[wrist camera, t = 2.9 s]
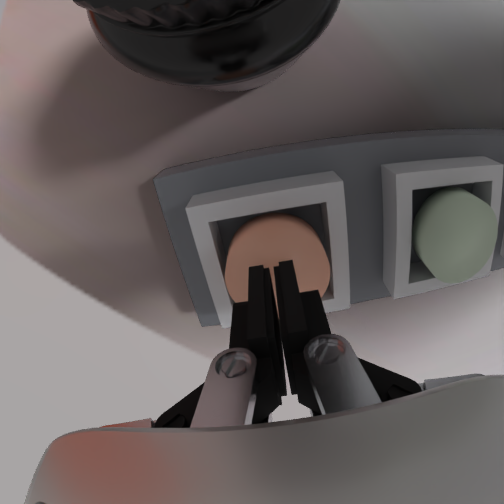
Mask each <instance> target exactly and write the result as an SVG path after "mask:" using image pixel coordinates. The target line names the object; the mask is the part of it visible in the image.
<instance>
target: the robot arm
mask: <svg viewBox="0 0 504 504" xmlns="http://www.w3.org/2000/svg"><path fill="white" fill-rule="evenodd" d="M274 276H275V285H276V295H277V304H278V311H277V306H276V301H275V295H274V290H273V285H272V279H271V274H270V269H269V267H268V268H264V266H263V265H257V266H251V267H249V274H248V301H244V302H237V303H233V308H232V320H231V332H230V344H229V349H227V350H224V351H222V352H221V353H219V354H218V355H217V356H216V357H215V358H214V359H213V361H212V363H211V365H210V368H209V371H208V374H207V377H206V380H205V382H204V383H203V384H202V385H200V386H199V387H198V388H197V389H195V390H194V391H192V392H191V393H190V394H188V395H187V396H186V397H184V398H183V399H182V400H181V401H179V402H178V403H176V404H175V405H174V406H172V407H171V408H170V409H168V410H167V411H166V412H164V413H163V414H162V415H161V416H160V417H159V418H158V419H157V420H155V421H153V420H152V419H151V418H149V419H143V420H138V421H132V422H126V423H120V424H113V425H106V426H102V427H99V428H90V429H82V430H78V431H75V432H70V433H68V434H65V435H62V436H60V437H58V438H57V439H55V440H54V441H53V442H52V443H51V444H50V445H49V446H48V448H47V449H46V451H45V452H44V454H43V456H42V458H41V460H40V462H39V464H38V467H37V469H36V471H35V473H34V476H33V479H32V482H31V484H30V487H29V490H28V493H27V496H26V499H25V503H24V504H504V375H486V376H485V375H482V374H469V375H462V376H455V377H447V378H438V379H428V380H424V383H419V384H417V383H416V382H415V381H413V380H411V379H409V378H407V377H404V376H402V375H399V374H397V373H394V372H392V371H389V370H387V369H384V368H382V367H379V366H377V365H375V364H372V363H370V362H367V361H365V360H363V359H360V358H358V357H357V356H356V354H355V352H354V351H353V349H352V347H351V345H350V343H349V342H348V341H347V340H346V339H345V338H343V337H342V336H339V335H336V334H331V331H330V328H329V324H328V321H327V317H326V314H325V310H324V307H323V303H322V300H321V297H320V293H319V290H312V291H306V292H299V287H298V283H297V278H296V273H295V269H294V264H293V260H287V261H281V262H279V266H274ZM278 314H279V317H278ZM282 345H283V348H282ZM283 350H284V356H285V361H286V366H287V372H288V377H289V383H290V388H291V394H292V395H294V394H297V395H298V401H299V403H301V404H303V405H304V406H306V407H308V408H310V413H311V417H307V418H300V419H293V420H286V421H278V422H272V412H273V411H274V410H275V409H276V408H277V407H278V406H279V405H282V400H281V396H286V395H287V390H286V379H285V369H284V359H283Z"/></svg>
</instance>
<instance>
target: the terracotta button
mask: <svg viewBox="0 0 504 504" xmlns="http://www.w3.org/2000/svg"><path fill="white" fill-rule="evenodd" d="M287 260H293V264H294V269H295V273H296V278H297V283H298V287H299V292H306V291H312V290H319V293H320V297H322V296H323V295H324V293H325V291H326V289H327V287H328V284H329V280H330V264H329V261H328V258H327V255H326V253H325V250H324V248H323V245H322V243H321V240H320V238H319V236H318V234H317V233H316V231H315V230H314V229H313V227H312V226H311V225H310V224H308V223H307V222H306V221H304V220H303V219H301V218H299V217H297V216H294V215H291V214H287V213H276V212H274V213H266V214H262V215H259V216H256V217H254V218H252V219H250V220H249V221H247V222H246V223H244V224H243V225H242V226H241V227H240V228H239V229H238V230H237V232H236V233H235V234H234V236H233V238H232V240H231V242H230V245H229V250H228V256H227V262H226V269H225V282H226V287H227V290H228V292H229V294H230V296H231V297H232V299H233V300H234V301H235V302H236V303H237V302H244V301H248V274H249V267H251V266H257V265H263V266H264V268H268V267H269V269H270V274H271V279H272V285H273V290H274V295H275V301H276V306H277V311H278V304H277V295H276V285H275V276H274V266H279V262H281V261H287ZM278 317H279V314H278Z"/></svg>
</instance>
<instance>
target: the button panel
mask: <svg viewBox="0 0 504 504" xmlns="http://www.w3.org/2000/svg"><path fill="white" fill-rule="evenodd" d="M153 181H154V185H155V188H156V192H157V195H158V198H159V202H160V205H161V208H162V212H163V215H164V218H165V221H166V225H167V228H168V231H169V234H170V237H171V240H172V243H173V246H174V249H175V252H176V255H177V258H178V261H179V264H180V267H181V270H182V273H183V276H184V279H185V282H186V285H187V288H188V290H189V293H190V296H191V299H192V302H193V304H194V307H195V310H196V313H197V315H198V318H199V321H200V323H201V326H202V327H204V326H212V325H220V324H221V326H222V328H230V327H231V320H232V308H233V303H236V302H235V301H234V300H233V299H232V297H231V296H230V294H229V292H228V290H227V287H226V282H225V269H226V262H227V256H228V250H229V245H230V242H231V240H232V238H233V236H234V234H235V233H236V232H237V230H238V229H239V228H240V227H241V226H242V225H243V224H244V223H246V222H247V221H249V220H250V219H252V218H254V217H256V216H259V215H262V214H266V213H274V212H276V213H287V214H291V215H294V216H297V217H299V218H301V219H303V220H304V221H306V222H307V223H308V224H310V225H311V226H312V227H313V229H314V230H315V231H316V233H317V234H318V236H319V238H320V240H321V243H322V245H323V248H324V250H325V253H326V255H327V258H328V261H329V264H330V280H329V284H328V287H327V289H326V291H325V293H324V295H323V296H322V297H321V300H322V303H323V307H324V310H325V313H328V312H334V311H339V310H344V309H350V304H353V303H358V302H363V301H368V300H373V299H378V298H383V297H388V296H392V298H393V299H398V298H403V297H407V296H412V295H416V294H420V293H424V292H429V291H433V290H437V289H441V288H445V287H449V286H453V285H457V284H460V283H464V282H468V281H472V280H475V279H479V278H483V277H486V276H489V274H490V271H494V270H497V269H501V268H504V129H438V130H416V131H400V132H386V133H375V134H364V135H354V136H345V137H336V138H328V139H321V140H313V141H306V142H299V143H293V144H286V145H280V146H274V147H268V148H262V149H257V150H251V151H246V152H240V153H235V154H230V155H225V156H220V157H216V158H211V159H206V160H202V161H197V162H193V163H188V164H184V165H180V166H176V167H172V168H168V169H164V170H163V171H162V172H160V173H159V174H158V175H157V176H156V177H155V178H154V179H153ZM446 187H460V188H463V189H465V190H466V191H468V192H470V193H471V194H473V195H475V196H476V197H478V198H479V199H481V200H483V201H484V202H486V203H487V204H488V205H489V206H490V207H491V208H492V209H493V211H494V213H495V215H496V219H497V224H498V234H497V240H496V244H495V247H494V250H493V252H492V254H491V256H490V258H489V259H488V261H487V262H486V264H485V265H484V266H483V267H482V268H481V270H480V271H478V272H477V273H476V274H475V275H474V276H472V277H471V278H469V279H467V280H465V281H462V282H459V283H445V282H442V281H440V280H438V279H437V278H436V277H435V276H434V275H433V274H432V273H431V271H430V270H429V269H428V268H427V266H426V265H425V264H424V263H423V262H422V260H421V259H420V258H419V257H418V255H417V254H416V252H415V250H414V248H413V244H412V227H413V223H414V220H415V217H416V215H417V212H418V211H419V209H420V207H421V206H422V204H423V203H424V202H425V201H426V199H427V198H428V197H430V196H431V195H432V194H433V193H435V192H436V191H438V190H440V189H443V188H446Z"/></svg>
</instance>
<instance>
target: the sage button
mask: <svg viewBox="0 0 504 504" xmlns="http://www.w3.org/2000/svg"><path fill="white" fill-rule="evenodd" d="M497 234H498V224H497V219H496V215H495V213H494V211H493V209H492V208H491V207H490V206H489V205H488V204H487V203H486V202H484V201H483V200H481V199H479V198H478V197H476V196H475V195H473V194H471V193H470V192H468V191H466V190H465V189H463V188H460V187H446V188H443V189H440V190H438V191H436V192H435V193H433V194H432V195H431V196H430V197H428V198H427V199H426V201H425V202H424V203H423V204H422V206H421V207H420V209H419V211H418V212H417V215H416V217H415V220H414V223H413V227H412V244H413V248H414V250H415V252H416V254H417V255H418V257H419V258H420V259H421V260H422V262H423V263H424V264H425V265H426V266H427V268H428V269H429V270H430V271H431V273H432V274H433V275H434V276H435V277H436V278H437V279H438V280H440V281H442V282H445V283H459V282H462V281H465V280H467V279H469V278H471V277H472V276H474V275H475V274H476V273H477V272H478V271H480V270H481V268H482V267H483V266H484V265H485V264H486V262H487V261H488V259H489V258H490V256H491V254H492V252H493V250H494V247H495V244H496V240H497Z"/></svg>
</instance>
